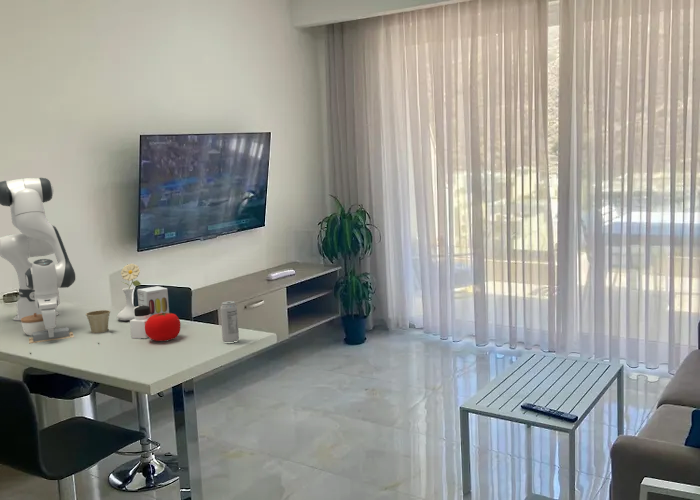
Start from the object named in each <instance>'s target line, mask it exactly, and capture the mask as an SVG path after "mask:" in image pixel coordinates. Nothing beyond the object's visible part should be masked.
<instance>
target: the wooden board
mask: <svg viewBox="0 0 700 500" xmlns="http://www.w3.org/2000/svg"><path fill="white" fill-rule="evenodd" d="M69 335H70V337H63V338H56V339H49V340H42V341H35V342H33V336H31V337H28V344H37V343H42V342H51V341H56V340H64V339H70V338H74V332H73V331H69Z"/></svg>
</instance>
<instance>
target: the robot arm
mask: <svg viewBox="0 0 700 500" xmlns="http://www.w3.org/2000/svg"><path fill="white" fill-rule="evenodd" d="M53 194H54V187H53V184H52V183H51V181H50V180H49V179H48V178H46V177H39V178H37V177H34V178H33V177H28V178H27V177H25V178H18V179H13V180H12V179H11V180H10V179H9V180H3V181H0V205H1V206H4V207H10V216H11V223H12V225H13V227H15V228H16V229H17V230H18V231H19V232H20V233H14V234H9V235H8V234H7V235H4V236H0V257H1V258H2V259H4V260H6V261H7V262H9V263H10V264H11V265H12V266H13V268H14V269H15V271H16V275H17V279H18V284H19V288H18V294H19V298H18V300H17V301H16V309H17V310H16V312H17V314H16V316H14V317H13V321H21V318H23V317H26V316H30V315H34V313H36V314H42V317H43V321H44V325H45V328H46V329H48V333H49V337H50V338H51V337H54V329H56V325H57V316H58V315H59V314H60V313H59V312H58V311H57V308H58V306H59V305H60V303H61V300H60V291H59V289H62V288H63V289H64V288H70V287H71V286H72V285H73V284H74V283H75V281H76V272H75V269H74V267H73V265H72V262H71V260H70V258H69V256H68V252H67V250H66V247H65V245H64V243H63V240H62V237H61V235H60V233H59V230H58V229H57V227H56V226H55V225H52V224H51V223H50V222H49V220H48V219H47V216H46V213H45V208H44V204H45V203H48V202H49V201H51V200H52V199H53ZM43 203H44V204H43ZM53 254H54V256H55V258H56V261H57V263H55V262H54V260H52V259H50V258H41V259H40V258H39V259H36V260H34V261H32V262H30V261H29V258H37V257H46V256H51V255H53ZM58 288H59V289H58Z"/></svg>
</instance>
